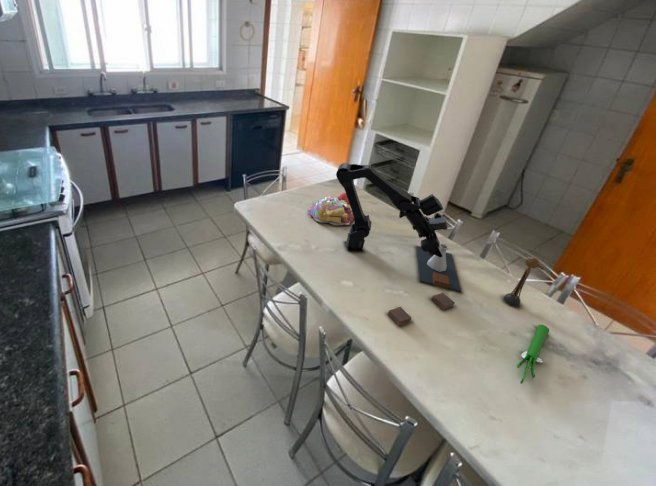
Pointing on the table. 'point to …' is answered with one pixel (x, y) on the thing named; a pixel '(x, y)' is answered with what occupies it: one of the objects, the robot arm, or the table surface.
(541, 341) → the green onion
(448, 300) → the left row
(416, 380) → the table surface
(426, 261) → the right mat
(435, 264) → the flask
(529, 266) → the wooden tabletop sculpture
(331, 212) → the multicoloured lumpy mound
